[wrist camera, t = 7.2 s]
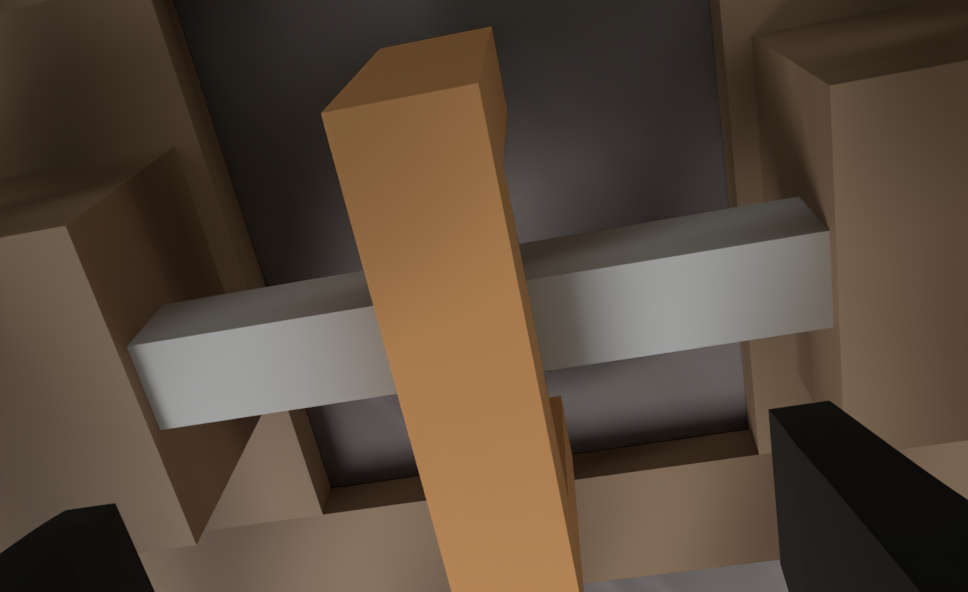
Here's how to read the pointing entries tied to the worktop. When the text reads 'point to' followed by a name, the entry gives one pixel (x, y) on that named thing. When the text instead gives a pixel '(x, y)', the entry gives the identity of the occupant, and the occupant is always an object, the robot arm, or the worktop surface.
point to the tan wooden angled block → (458, 309)
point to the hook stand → (551, 287)
